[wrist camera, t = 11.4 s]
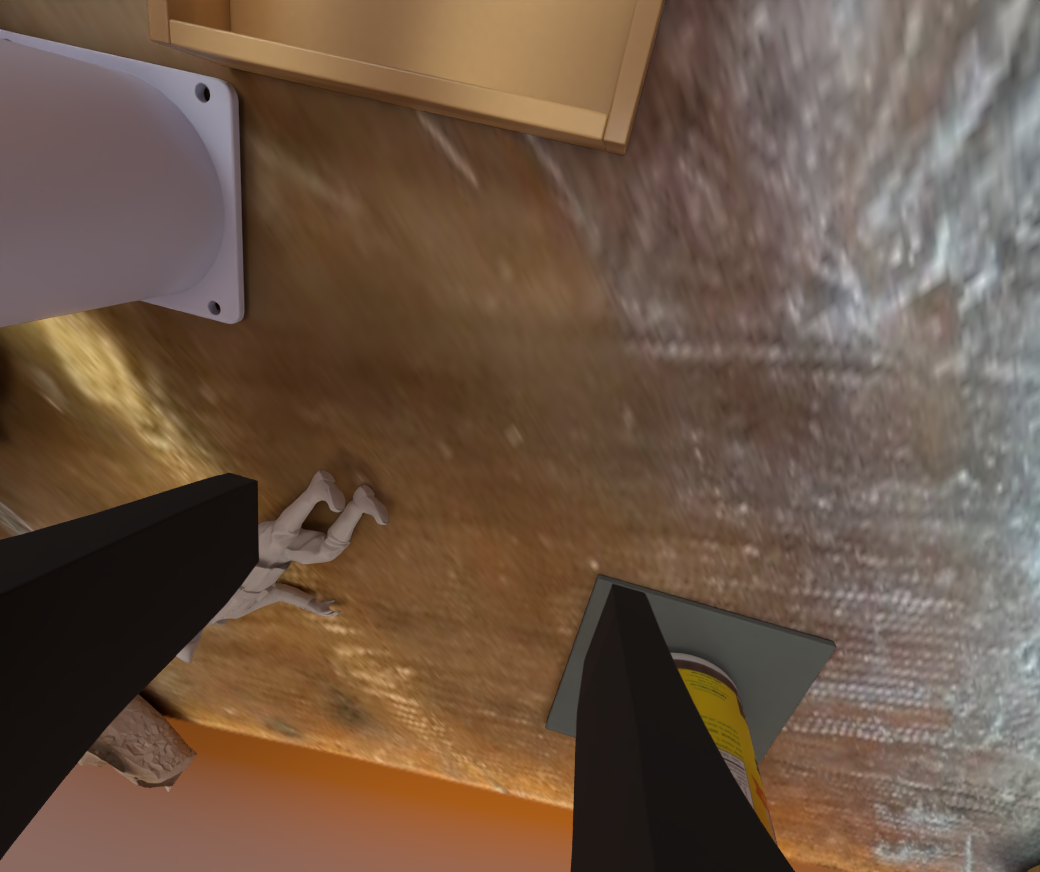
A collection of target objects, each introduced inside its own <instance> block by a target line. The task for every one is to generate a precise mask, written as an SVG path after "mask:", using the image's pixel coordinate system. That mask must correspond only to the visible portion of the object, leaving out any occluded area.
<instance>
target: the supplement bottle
mask: <svg viewBox="0 0 1040 872" xmlns="http://www.w3.org/2000/svg"><path fill="white" fill-rule="evenodd" d="M671 655H672V657H673V660H674V662H675V664H676V666H677V668H678V671H679V673H680V675H681V677H682V679H683V681H684V683H685V685H686V687H687V689H688V691H689V694H690V696H691V698H692V700H693V702H694V704H695V706H696V708H697V710H698V712H699V714H700V716H701V718H702V720H703V722H704V724H705V725H706V727H707V729H708V731H709V733H710V735H711V737H712V738H713V740H714V742H715V744H716V746H717V748H718V749H719V751H720V753H721V755H722V757H723V759H724V760H725V762H726V764H727V766H728V767H729V769H730V771H731V773H732V774H733V776H734V778H735V779H736V781H737V783H738V784H739V786H740V788H741V790H742V791H743V793H744V795H745V796H746V798H747V799H748V801H749V803H750V804H751V806H752V807H753V809H754V811H755V812H756V814H757V815H758V817H759V819H760V820H761V822H762V823H763V825H764V827H765V828H766V830H767V831H768V833H769V834H770V836H771V837H772V839H773V840H774V842H775V843H776V845H777V841H776V837H775V833H774V829H773V825H772V821H771V817H770V813H769V810H768V806H767V802H766V797H765V793H764V789H763V785H762V782H761V777H760V773H759V769H758V765H757V761H756V757H755V753H754V749H753V745H752V741H751V737H750V732H749V729H748V725H747V721H746V716H745V712H744V708H743V705H742V701H741V698H740V695H739V692H738V690H737V688H736V686H735V684H734V683H733V681H732V680H731V679H730V678H729V676H728V675H727V674H726V673H725V672H724V671H722V670H721V669H720V668H718V667H717V666H716V665H714V664H712V663H710V662H709V661H707V660H704V659H702V658H699V657H696V656H693V655H689V654H683V653H671ZM777 846H778V845H777Z"/></svg>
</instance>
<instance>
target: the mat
mask: <svg viewBox="0 0 1040 872" xmlns="http://www.w3.org/2000/svg"><path fill="white" fill-rule="evenodd" d="M612 584H616V585H619V586H623V587H626V588H630V589H633V590H637V591H640V592H644V593H645V594H646V596H647V598H648V600H649V602H650V605H651V607H652V610H653V612H654V615H655V617H656V620H657V622H658V625H659V627H660V630H661V632H662V634H663V637H664V639H665V641H666V644H667V646H668V648H669V651H670V653H683V654H689V655H693V656H696V657H699V658H702V659H704V660H707V661H709V662H710V663H712V664H714V665H716V666H717V667H718V668H720V669H721V670H722V671H724V672H725V673H726V674H727V675H728V676H729V678H730V679H731V680H732V681H733V683H734V684H735V686H736V688H737V690H738V692H739V695H740V698H741V701H742V705H743V708H744V712H745V716H746V721H747V725H748V729H749V732H750V737H751V741H752V745H753V749H754V753H755V757H756V761H757V765H758V764H759V763H760V761H761V760H762V758H763V757H764V755H765V754H766V752H767V751H768V749H769V748H770V746H771V745H772V743H773V742H774V740H775V739H776V737H777V736H778V734H779V733H780V731H781V730H782V728H783V727H784V725H785V724H786V722H787V721H788V719H789V718H790V716H791V715H792V713H793V712H794V710H795V709H796V707H797V706H798V704H799V703H800V701H801V700H802V698H803V697H804V695H805V694H806V692H807V691H808V689H809V688H810V686H811V685H812V683H813V682H814V680H815V679H816V677H817V676H818V674H819V673H820V671H821V670H822V668H823V667H824V665H825V664H826V662H827V661H828V659H829V658H830V656H831V655H832V653H833V652H834V650H835V649H836V645H835V643H834V642H832V641H828V640H825V639H821V638H818V637H814V636H811V635H807V634H804V633H800V632H797V631H793V630H790V629H786V628H783V627H780V626H776V625H773V624H769V623H766V622H762V621H759V620H755V619H752V618H748V617H745V616H741V615H738V614H734V613H731V612H727V611H724V610H720V609H717V608H713V607H710V606H706V605H703V604H699V603H696V602H693V601H689V600H686V599H682V598H679V597H675V596H672V595H668V594H665V593H661V592H658V591H654V590H651V589H647V588H644V587H640V586H637V585H633V584H630V583H626V582H623V581H619V580H616V579H612V578H609V577H606V576H602V575H598V577H597V580H596V582H595V585H594V588H593V591H592V594H591V597H590V599H589V602H588V605H587V608H586V611H585V614H584V617H583V619H582V622H581V625H580V628H579V631H578V634H577V636H576V639H575V642H574V645H573V648H572V651H571V654H570V656H569V659H568V662H567V665H566V668H565V671H564V673H563V676H562V679H561V682H560V685H559V688H558V691H557V693H556V696H555V699H554V702H553V705H552V708H551V710H550V713H549V716H548V719H547V722H546V726H545V728H546V729H549V730H552V731H555V732H559V733H562V734H565V735H568V736H571V737H575V738H576V720H577V708H578V700H579V693H580V686H581V679H582V672H583V665H584V659H585V656H586V654H587V651H588V648H589V646H590V643H591V640H592V638H593V635H594V632H595V629H596V627H597V624H598V621H599V619H600V616H601V613H602V611H603V608H604V605H605V602H606V600H607V597H608V594H609V592H610V589H611V586H612Z"/></svg>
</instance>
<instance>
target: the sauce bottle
mask: <svg viewBox="0 0 1040 872" xmlns="http://www.w3.org/2000/svg"><path fill="white" fill-rule="evenodd" d="M1027 872H1040V865H1038V866H1035V867H1033V868H1031V869H1029V870H1028V871H1027Z"/></svg>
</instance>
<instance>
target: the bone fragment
mask: <svg viewBox="0 0 1040 872" xmlns="http://www.w3.org/2000/svg"><path fill="white" fill-rule="evenodd" d="M196 754H197V753H196V752H195V751H193V750H192V749H191V748H190V747H189V746H188V745H187V744H186V743H185V741H184V740H183V739H182V738H181V737H180V735H179V734H178V733H177V732H176V731H175V730H174V729H173V728H172V726H171V725H170V724H169V723H168V722H167V720H166V719H165V718H164V717H163V716H162V715H161V714H160V713H159V712H158V711H157V710H156V709H155V708H153V707H152V706H151V705H150V704H149V703H148V702H147V701H146V700H144V699H143V698H142V697H141V696H140V695H139V694H138V695H137V696H136V697H135V698H134V699H133V700H132V701H131V702H130V703H129V704H128V705H127V706H126V707H125V708H124V710H123V711H122V712H121V713H120V714H119V715H118V716H117V717H116V718H115V719H114V720H113V721H112V723H111V724H110V725H109V726H108V727H107V728H106V729H105V731H104V732H103V733H102V734H101V735H100V737H99V738H98V739H97V740H96V741H95V743H94V744H93V745H92V746H91V747H90V749H89V750H88V751H87V752H86V753H85V755H84V756H83V757H82V758H81V759H80V761H79V762H78V764H79V765H81V766H83V765H85V764H90V765H93V766H99V767H101V766H104V765H106V764H110V765H111V767H113V768H114V769H115V770H117V772H118V773H119V774H121V775H123V776H125V777H126V778H128V779H129V780H130V781H131V782H133V783H134V784H136V785H139V786H142V787H149V788H151V787H161V786H164V787H165V788H166V789H167V791H169V790H170V788H172V786H173V784H174V783H175V781H176V780H177V779H178V777H179V776H180V774H181V773H182V771H183V770H186V769H187V768H188V766H189V765H190V763H191V762H192V760H193V759H194V757H195V756H196Z"/></svg>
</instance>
